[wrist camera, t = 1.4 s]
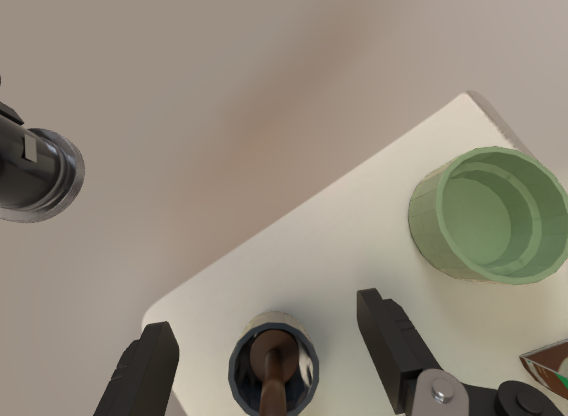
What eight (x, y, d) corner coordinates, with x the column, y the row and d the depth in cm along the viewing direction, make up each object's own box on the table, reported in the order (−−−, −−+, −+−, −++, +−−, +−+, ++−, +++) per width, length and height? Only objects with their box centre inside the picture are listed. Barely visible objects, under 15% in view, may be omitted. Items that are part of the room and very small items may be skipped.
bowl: (382, 218, 31) (407, 207, 25) (454, 147, 33) (492, 121, 27) (471, 306, 29) (520, 316, 24) (541, 225, 32) (602, 215, 26)
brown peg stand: (241, 349, 27) (196, 453, 12) (275, 314, 28) (275, 372, 13) (272, 387, 27) (268, 548, 12) (307, 351, 28) (346, 456, 12)
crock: (223, 347, 28) (209, 368, 22) (276, 295, 29) (276, 303, 23) (272, 406, 27) (271, 445, 21) (324, 350, 28) (337, 372, 22)
